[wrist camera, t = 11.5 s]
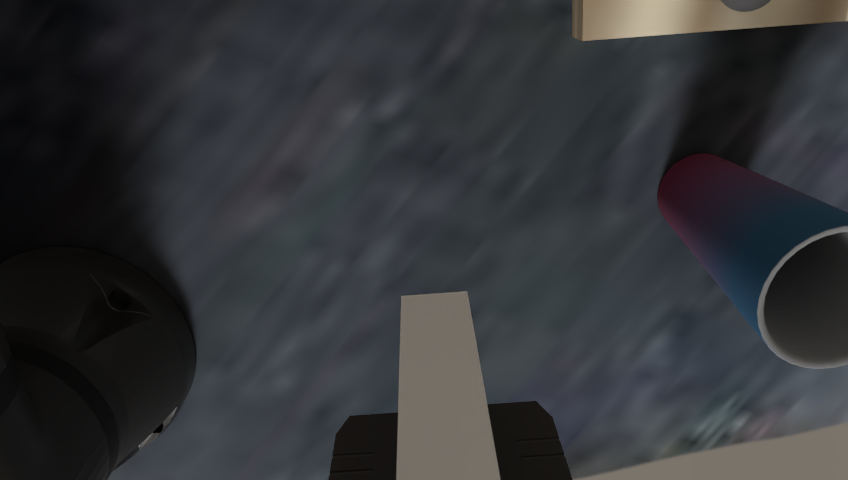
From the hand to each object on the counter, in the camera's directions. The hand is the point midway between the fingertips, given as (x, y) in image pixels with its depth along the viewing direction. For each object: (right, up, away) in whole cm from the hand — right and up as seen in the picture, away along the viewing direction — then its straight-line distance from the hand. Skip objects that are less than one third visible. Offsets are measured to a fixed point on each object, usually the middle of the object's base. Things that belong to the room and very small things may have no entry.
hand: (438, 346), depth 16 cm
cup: (+17, +6, +27) cm, 32 cm away
